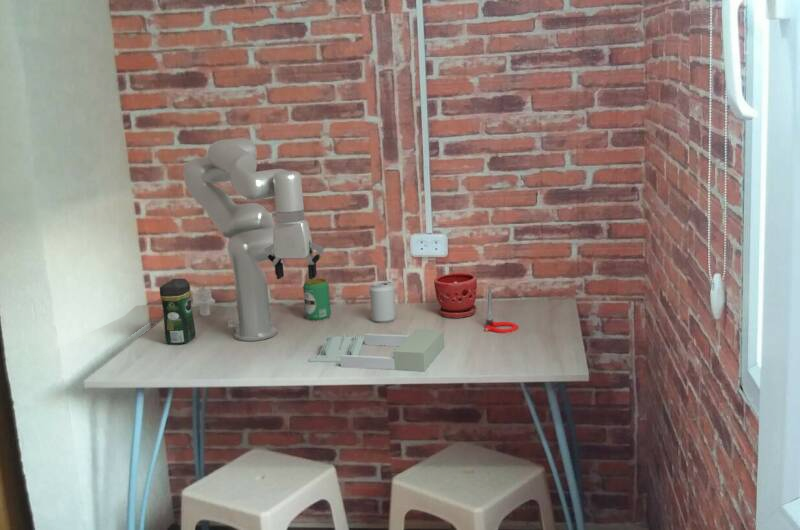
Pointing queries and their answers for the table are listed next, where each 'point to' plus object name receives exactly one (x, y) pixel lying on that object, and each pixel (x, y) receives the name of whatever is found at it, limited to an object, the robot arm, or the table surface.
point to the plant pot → (456, 294)
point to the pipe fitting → (203, 301)
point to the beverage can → (317, 299)
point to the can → (382, 301)
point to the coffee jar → (177, 311)
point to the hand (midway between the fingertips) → (296, 277)
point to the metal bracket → (338, 348)
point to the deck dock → (401, 351)
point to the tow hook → (491, 323)
